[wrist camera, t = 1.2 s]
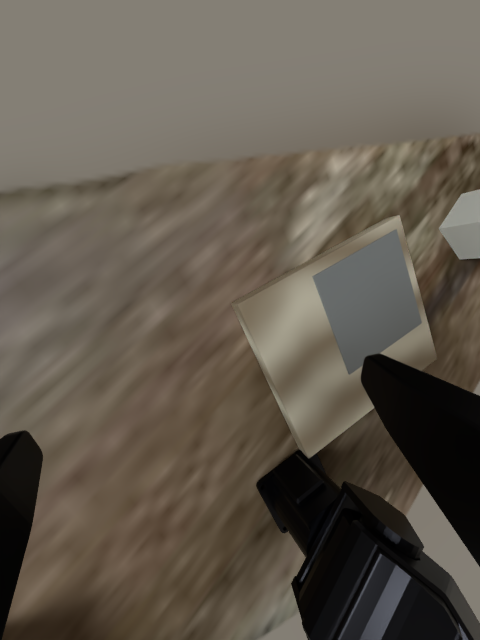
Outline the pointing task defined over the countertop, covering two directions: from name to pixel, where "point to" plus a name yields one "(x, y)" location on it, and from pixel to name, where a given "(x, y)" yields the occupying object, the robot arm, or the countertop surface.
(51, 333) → the countertop surface
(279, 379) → the board
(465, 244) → the grey post
